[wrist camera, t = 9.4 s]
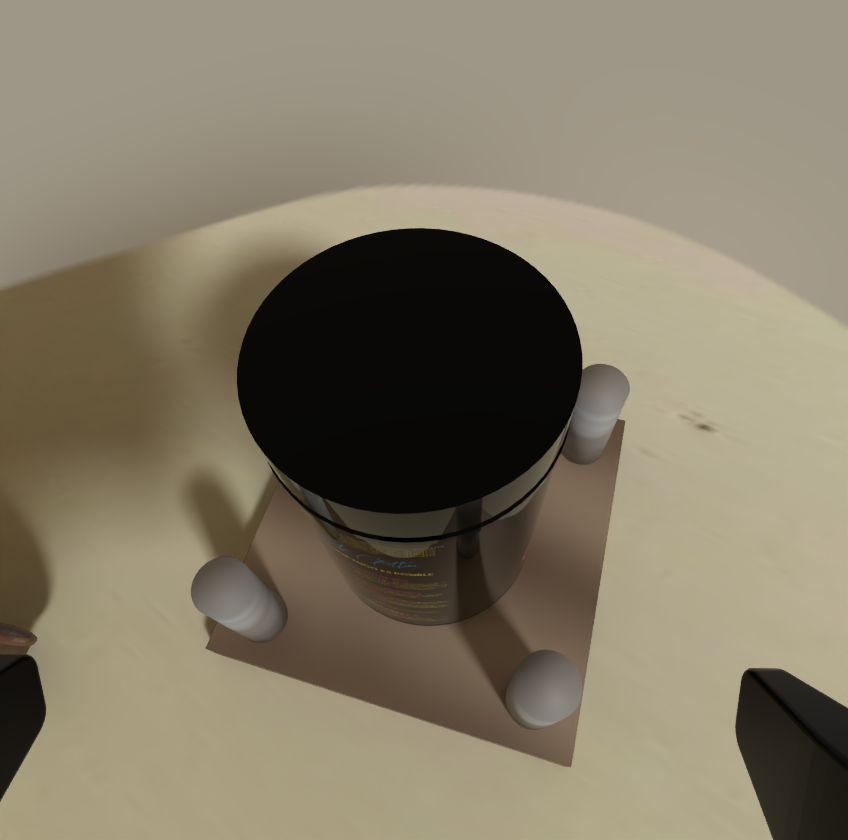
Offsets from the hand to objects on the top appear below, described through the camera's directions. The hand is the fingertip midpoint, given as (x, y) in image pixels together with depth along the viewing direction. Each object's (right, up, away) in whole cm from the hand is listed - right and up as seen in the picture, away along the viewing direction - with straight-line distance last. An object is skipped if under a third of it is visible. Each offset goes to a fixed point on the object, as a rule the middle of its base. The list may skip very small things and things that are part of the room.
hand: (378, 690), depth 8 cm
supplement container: (+1, 0, +13) cm, 13 cm away
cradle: (+1, -1, +14) cm, 14 cm away
